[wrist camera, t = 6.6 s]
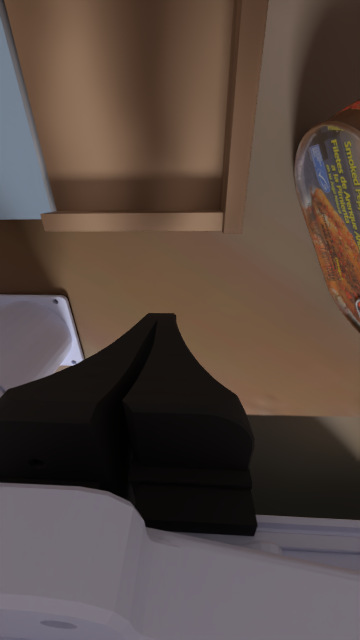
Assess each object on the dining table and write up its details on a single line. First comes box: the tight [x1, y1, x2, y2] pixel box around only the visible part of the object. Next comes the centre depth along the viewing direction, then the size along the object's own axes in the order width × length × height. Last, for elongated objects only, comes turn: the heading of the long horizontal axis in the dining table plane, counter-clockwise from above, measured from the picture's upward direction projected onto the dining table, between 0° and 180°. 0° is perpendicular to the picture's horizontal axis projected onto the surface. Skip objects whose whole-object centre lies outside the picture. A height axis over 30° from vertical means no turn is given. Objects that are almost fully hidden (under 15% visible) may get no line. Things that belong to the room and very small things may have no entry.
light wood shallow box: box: [4, 0, 269, 234], centre depth 12 cm, size 12×14×5 cm
